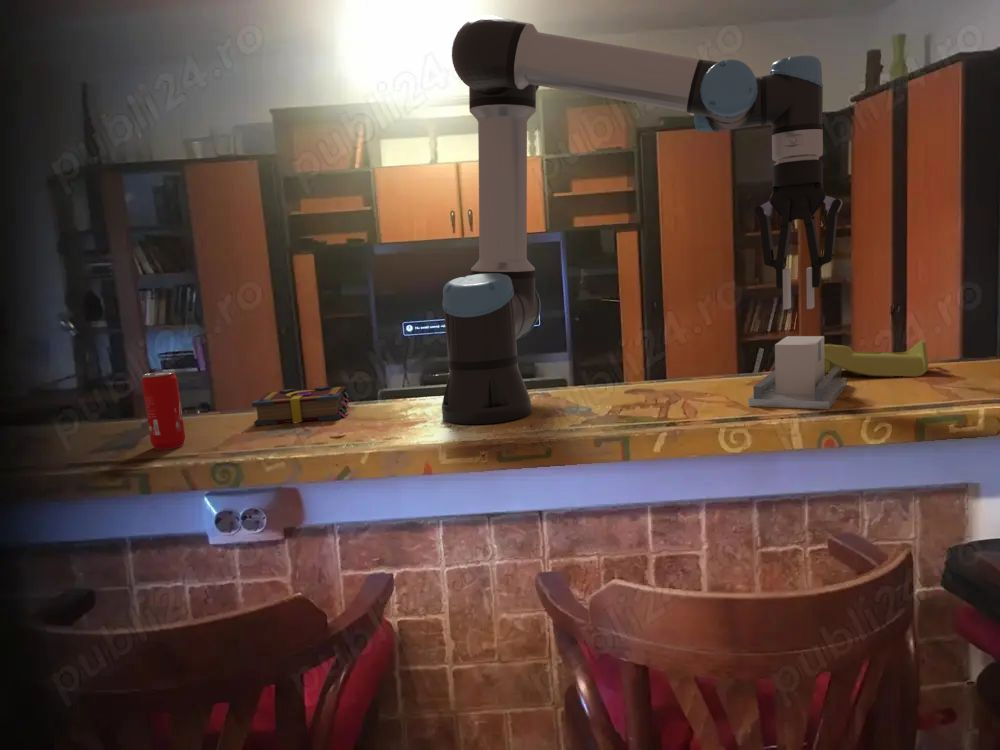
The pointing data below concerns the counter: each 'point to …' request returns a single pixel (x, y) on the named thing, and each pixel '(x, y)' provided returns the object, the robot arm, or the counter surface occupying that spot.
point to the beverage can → (163, 410)
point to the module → (799, 364)
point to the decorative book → (301, 405)
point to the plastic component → (878, 361)
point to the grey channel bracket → (821, 400)
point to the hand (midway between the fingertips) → (798, 307)
